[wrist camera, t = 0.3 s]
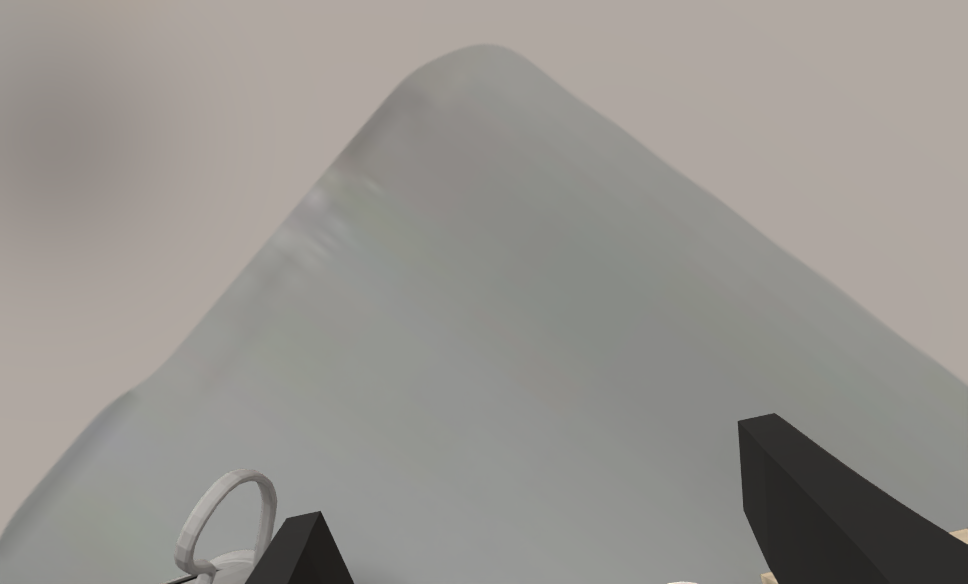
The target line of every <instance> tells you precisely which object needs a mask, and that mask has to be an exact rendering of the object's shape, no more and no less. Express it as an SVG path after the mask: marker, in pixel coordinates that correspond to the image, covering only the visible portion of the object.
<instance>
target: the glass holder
mask: <svg viewBox="0 0 968 584" xmlns="http://www.w3.org/2000/svg"><path fill="white" fill-rule="evenodd" d="M248 481H256V482H257V484H258V486H259V489H260V491H261V497H262V511H261V519H260V526H259V531H258V536H257V541H256V547H255V550H238V551H233V552H229V553H226V554H223V555H221V556H218V557H216V558H215V559H213V560H211V561H209V562H208V561H206V560H203V559H197V560H193V554H194V548H195V545H196V542H197V540H198V537H199V535H200V533H201V531H202V529H203V527H204V526H205V524H206V522H207V520H208V519H209V517H210V516H211V515H212V513H213V512H214V510H215V509H216V507H217V506H218V504H219V503H220V502H221V501H222V500H223V499H224V497H225V496H226V495H227V494H228V493H229V492H230V491H231V490H233V489H234V488H235V487H237V486H238V485H239V484H242V483H245V482H248ZM276 508H277V497H276V492H275V489H274V487H273V484H272V482H271V481H270V480H269V479H268V478H267V477H265V476H264V475H263V474H261V473H259V472H257V471H255V470H247V469H238V470H234V471H231V472H228V473H227V474H225V475H224V476H223V477H221V478H220V479H219V480H217V481H216V482H215V483H214V484H213V485H212V486H211V487H210V489H209V490H208V491H207V492H206V493H205V494H204V495H203V497H202V498H201V499H200V501H199V502H198V504H197V505H196V507H195V508H194V509H193V511H192V512H191V514H190V516H189V518H188V519H187V521H186V523H185V525H184V526H183V528H182V530H181V533H180V535H179V538H178V540H177V543H176V548H175V554H174V557H175V563H176V565H177V566H178V567H179V568H180V569H182V570H183V571H185V572H186V573H188V575H185V576H182V577H179V578H175V579H172V580H169V581H166V582H163V583H160V584H245V582H246V580H247V579H248V577H249V576H250V574H251V573H252V571H253V570H254V568H255V566H256V565H257V563H258V562H259V560H260V559H261V557H262V555H263V554H264V552H265V551H266V549H267V548H268V546H269V544H270V542H271V538H272V533H273V527H274V521H275V515H276Z"/></svg>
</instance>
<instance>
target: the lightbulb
mask: <svg viewBox="0 0 968 584" xmlns="http://www.w3.org/2000/svg"><path fill="white" fill-rule="evenodd" d="M668 584H698V583H691V582H674V583H668Z"/></svg>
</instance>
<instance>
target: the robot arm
mask: <svg viewBox="0 0 968 584" xmlns="http://www.w3.org/2000/svg"><path fill="white" fill-rule="evenodd" d="M738 431H739V447H740V462H741V477H742V493H743V508H744V512H745V514H746V517H747V519H748V521H749V524H750V526H751V528H752V530H753V533H754V535H755V537H756V540H757V542H758V544H759V546H760V549H761V551H762V553H763V555H764V557H765V560H766V562H767V564H768V566H769V568H770V570H771V572H772V573H773V575H774V577H775V579H776V580H777V582H778V584H968V544H966V543H965V542H963V541H961V540H959V539H958V538H956V537H954V536H953V535H951V534H950V533H948V532H946V531H945V530H943V529H941V528H940V527H938V526H937V525H935V524H933V523H932V522H930V521H928V520H927V519H925V518H924V517H922V516H920V515H919V514H917V513H916V512H914V511H913V510H911V509H909V508H908V507H906V506H905V505H903V504H902V503H900V502H899V501H897V500H896V499H894V498H893V497H891V496H890V495H888V494H887V493H885V492H884V491H882V490H881V489H879V488H878V487H877V486H875V485H874V484H872V483H871V482H869V481H868V480H866V479H865V478H863V477H862V476H860V475H859V474H858V473H856V472H855V471H853V470H852V469H850V468H849V467H848V466H846V465H845V464H843V463H842V462H841V461H839V460H838V459H837V458H835V457H834V456H832V455H831V454H830V453H828V452H827V451H826V450H824V449H823V448H821V447H820V446H819V445H817V444H816V443H815V442H813V441H812V440H811V439H809V438H808V437H807V436H805V435H804V434H803V433H801V432H800V431H799V430H797V429H796V428H795V427H793V426H792V425H791V424H789V423H788V422H787V421H785V420H784V419H783V418H781V417H780V416H778V415H777V414H775V413H773V414H768V415H764V416H759V417H754V418H750V419H745V420H740V421H738ZM245 584H354V582H353V580H352V578H351V576H350V574H349V572H348V569H347V567H346V565H345V563H344V561H343V559H342V556H341V554H340V552H339V550H338V548H337V545H336V543H335V541H334V539H333V537H332V535H331V532H330V530H329V528H328V526H327V524H326V522H325V519H324V517H323V515H322V513H321V511H318V512H314V513H309V514H304V515H300V516H295V517H290V518H287V519H286V520H285V522H284V523H283V525H282V526H281V528H280V529H279V531H278V532H277V534H276V535H275V537H274V538H273V540H272V541H271V543H270V544H269V546H268V548H267V549H266V551H265V552H264V554H263V555H262V557H261V559H260V560H259V562H258V563H257V565H256V566H255V568H254V570H253V571H252V573H251V574H250V576H249V577H248V579H247V580H246V582H245Z"/></svg>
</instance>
